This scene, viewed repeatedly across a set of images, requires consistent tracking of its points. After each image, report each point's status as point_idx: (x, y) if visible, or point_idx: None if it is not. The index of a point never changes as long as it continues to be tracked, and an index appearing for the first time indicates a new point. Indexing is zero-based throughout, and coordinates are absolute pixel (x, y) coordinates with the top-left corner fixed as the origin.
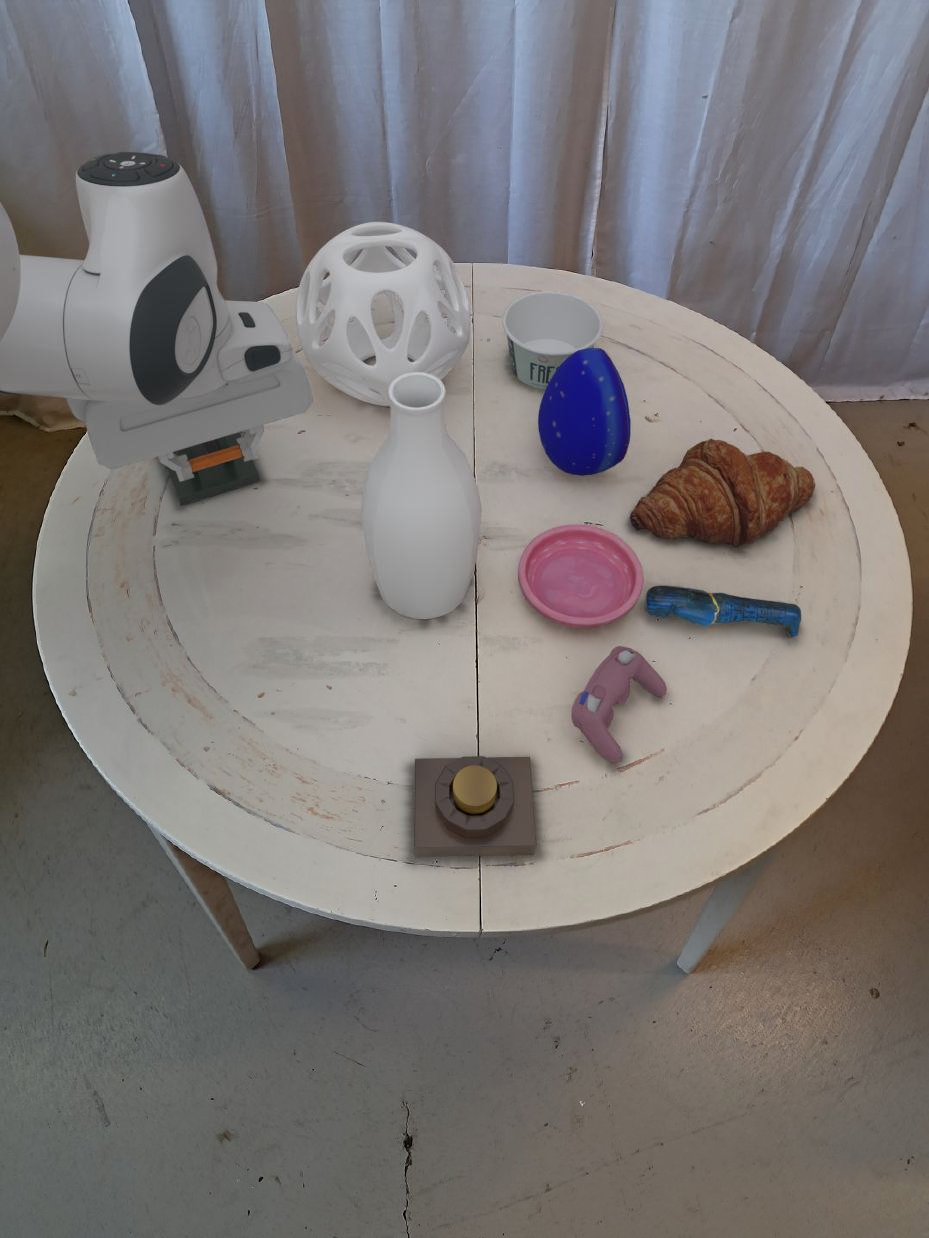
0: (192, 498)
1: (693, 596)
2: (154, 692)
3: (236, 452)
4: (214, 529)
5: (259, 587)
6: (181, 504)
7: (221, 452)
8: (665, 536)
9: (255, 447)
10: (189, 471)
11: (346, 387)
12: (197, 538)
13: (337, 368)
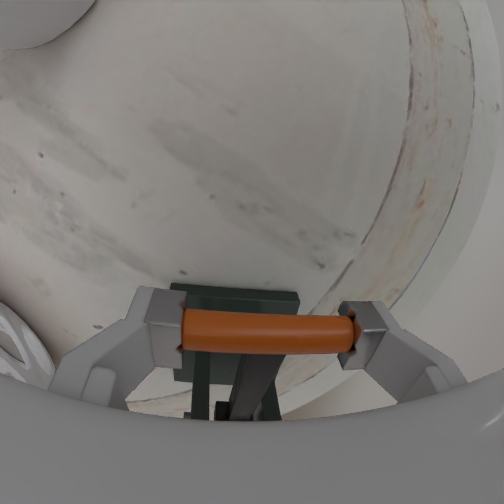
0: (279, 295)
1: None
2: (451, 39)
3: (199, 328)
4: (277, 228)
5: (270, 73)
6: (295, 293)
7: (247, 346)
8: None
9: (128, 316)
10: (364, 317)
11: (38, 350)
12: (308, 225)
13: (18, 377)
